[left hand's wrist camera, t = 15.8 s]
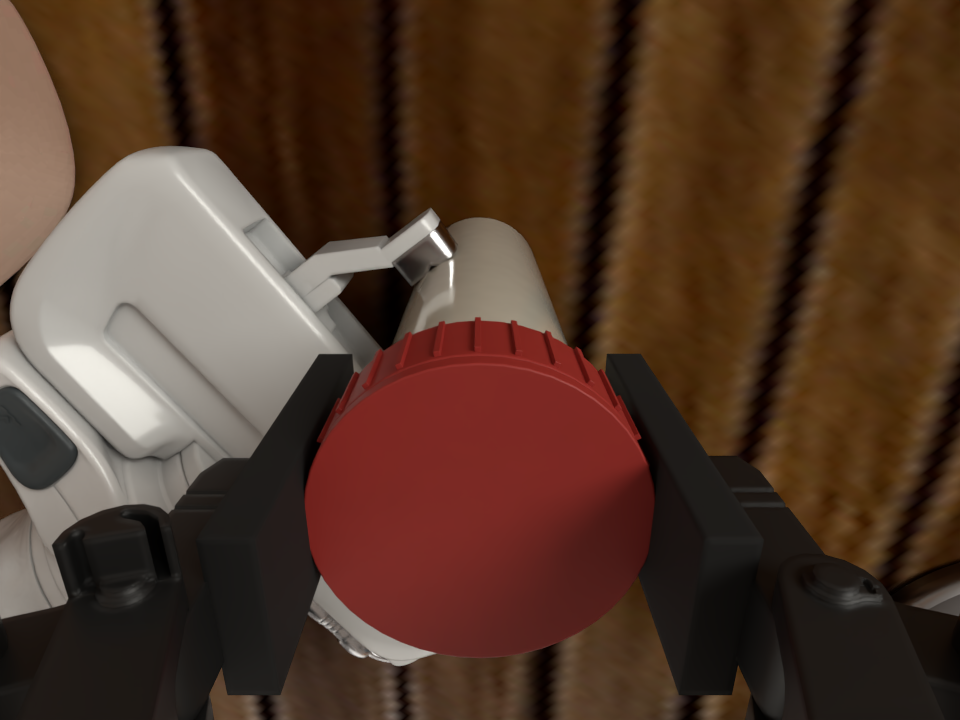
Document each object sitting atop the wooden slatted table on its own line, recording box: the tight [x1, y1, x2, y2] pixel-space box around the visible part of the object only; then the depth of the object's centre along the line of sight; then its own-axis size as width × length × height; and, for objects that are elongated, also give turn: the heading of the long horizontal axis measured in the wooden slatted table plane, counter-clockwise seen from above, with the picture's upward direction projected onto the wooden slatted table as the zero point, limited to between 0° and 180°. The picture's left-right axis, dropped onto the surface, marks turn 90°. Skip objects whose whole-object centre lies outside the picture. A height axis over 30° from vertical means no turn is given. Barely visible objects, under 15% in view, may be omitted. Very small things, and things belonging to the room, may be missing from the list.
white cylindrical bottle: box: [392, 218, 568, 346], centre depth 18 cm, size 5×5×17 cm
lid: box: [304, 317, 655, 658], centre depth 11 cm, size 6×6×2 cm
